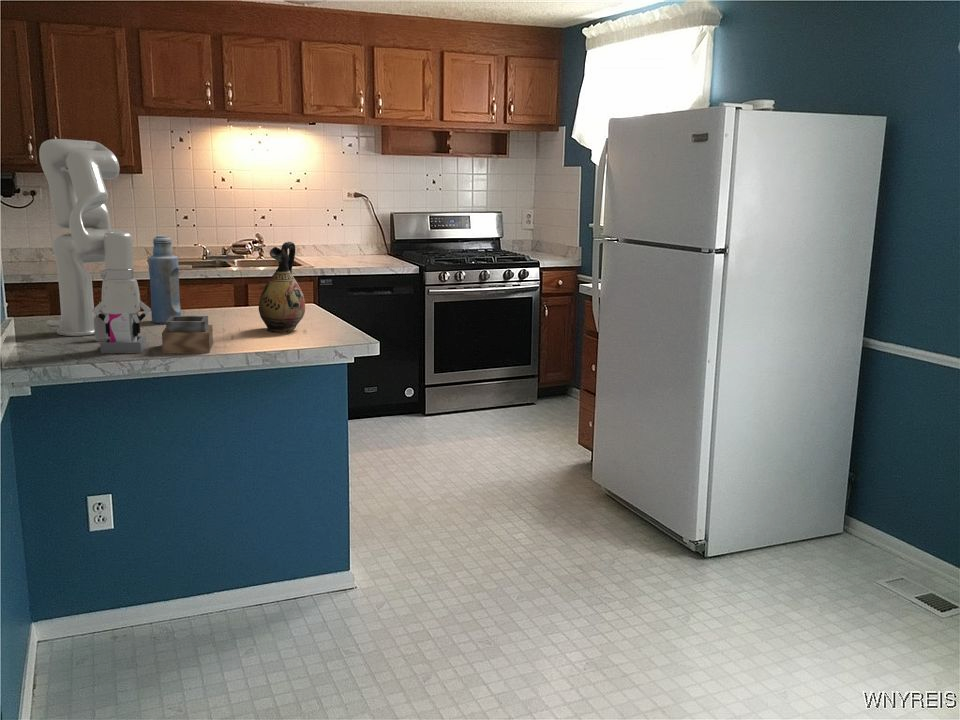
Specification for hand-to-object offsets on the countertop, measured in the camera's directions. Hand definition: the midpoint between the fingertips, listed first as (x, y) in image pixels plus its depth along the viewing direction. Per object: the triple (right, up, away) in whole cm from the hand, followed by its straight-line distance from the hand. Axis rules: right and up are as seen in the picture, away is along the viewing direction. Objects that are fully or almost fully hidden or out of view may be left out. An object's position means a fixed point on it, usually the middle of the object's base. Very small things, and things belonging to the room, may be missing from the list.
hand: (123, 335), depth 240 cm
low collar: (0, -4, +1) cm, 4 cm away
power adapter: (-11, -1, +13) cm, 18 cm away
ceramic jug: (+37, +3, +40) cm, 55 cm away
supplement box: (0, -4, +1) cm, 4 cm away
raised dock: (+17, -4, +5) cm, 18 cm away
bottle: (-5, +6, +47) cm, 48 cm away
